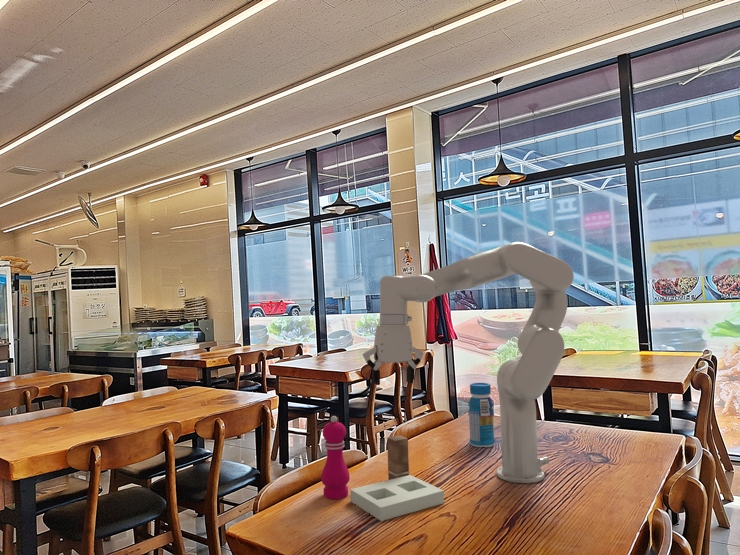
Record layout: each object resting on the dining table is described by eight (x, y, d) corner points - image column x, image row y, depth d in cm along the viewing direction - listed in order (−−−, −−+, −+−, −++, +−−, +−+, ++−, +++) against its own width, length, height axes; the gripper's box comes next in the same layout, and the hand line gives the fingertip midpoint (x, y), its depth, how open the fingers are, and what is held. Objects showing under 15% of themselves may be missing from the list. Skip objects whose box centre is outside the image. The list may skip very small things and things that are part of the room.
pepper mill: (346, 501, 133) (344, 419, 133) (318, 499, 134) (316, 419, 135) (353, 490, 140) (350, 413, 140) (326, 489, 141) (324, 412, 142)
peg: (400, 479, 147) (399, 435, 148) (409, 483, 144) (408, 438, 144) (388, 482, 145) (387, 437, 146) (396, 486, 142) (395, 440, 142)
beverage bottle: (465, 446, 177) (463, 385, 178) (474, 440, 184) (472, 381, 185) (490, 449, 173) (488, 386, 174) (498, 442, 180) (496, 382, 181)
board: (410, 486, 142) (410, 474, 142) (444, 503, 130) (443, 490, 130) (350, 501, 132) (350, 489, 132) (381, 521, 120) (380, 507, 120)
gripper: (417, 319, 153) (417, 380, 153) (359, 320, 148) (359, 383, 147) (428, 320, 146) (428, 384, 146) (367, 321, 141) (367, 387, 140)
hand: (393, 383), depth 147 cm, fingers open, 9 cm apart
